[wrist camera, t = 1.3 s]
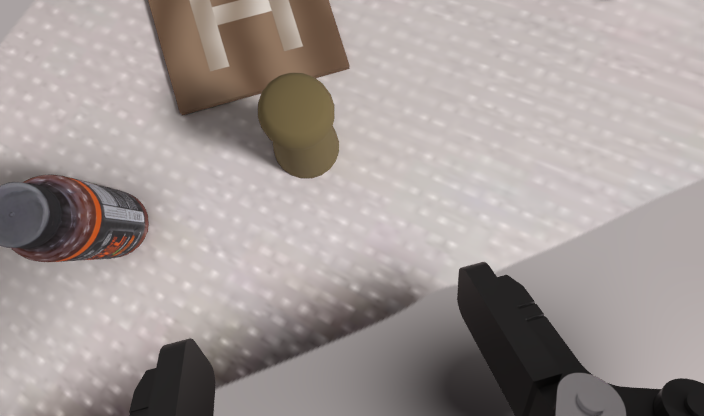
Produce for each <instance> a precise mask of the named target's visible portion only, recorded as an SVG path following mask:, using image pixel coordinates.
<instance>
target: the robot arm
mask: <svg viewBox="0 0 704 416" xmlns="http://www.w3.org/2000/svg"><path fill="white" fill-rule="evenodd" d="M457 300H458V306H459V309H460V312H461V315H462V317H463V319H464V321H465V323H466V325H467V327H468V329H469V330H470V332H471V334H472V336H473V338H474V340H475V342H476V344H477V346H478V347H479V349H480V351H481V353H482V355H483V357H484V359H485V360H486V362H487V364H488V366H489V368H490V370H491V372H492V373H493V376H494V377H495V379H496V381H497V383H498V385H499V387H500V389H501V391H502V393H503V394H504V396H505V398H506V400H507V402H508V404H509V406H510V407H511V409H512V411H513V413H514V415H515V416H704V384H703V383H701V382H698V381H695V380H690V379H674V380H671V381H669V382H668V383H666V385H665V386H664V387H663V388H662V389H647V388H630V387H619V386H615V385H612V384H609V383H606V382H605V381H603V380H602V379H600V378H598V377H596V376H593V375H592V374H591V373H589V372H588V371H587V370H586V369H585V368H584V367H583V366H582V365H581V363H580V362H579V361H578V359H577V358H576V357H575V355H574V354H573V353H572V351H571V350H570V349H569V347H568V346H567V345H566V344H565V342H564V341H563V339H562V338H561V337H560V335H559V334H558V332H557V331H556V330H555V328H554V327H553V326H552V324H551V323H550V322H549V320H548V319H547V318H546V317H545V316H544V314H543V312H542V311H541V309H540V308H539V307H538V305H537V304H535V303H534V300H533V299H532V297H531V296H530V295H529V293H528V292H527V291H526V289H525V288H524V287H523V286H522V285H521V284H520V283H518V282H516V281H515V280H514V279H512V278H511V277H509V276H508V275H504V276H500V277H496V275H495V274H494V272H493V271H492V269H491V268H490V266H489V265H488V264H487V263H486V262H481V263H477V264H473V265H470V266H466V267H462V268H460V269H459V279H458V297H457ZM214 397H215V375H214V371H213V368H212V365H211V364H210V362H209V361H208V359H207V358H206V357H205V355H204V354H203V352H202V351H201V349H200V348H199V347H198V345H197V344H196V342H195V341H194V340H193V339H191V338H190V339H186V340H182V341H179V342H175V343H171V344H167V345H164V346H163V347H162V348H161V350H160V353H159V358H158V363H157V368H154V369H151V370H147V371H146V372H145V374H144V375H143V377H142V379H141V380H140V382H139V384H138V386H137V387H136V389H135V391H134V394H133V399H132V403H131V407H130V411H129V412H130V416H213V411H214Z"/></svg>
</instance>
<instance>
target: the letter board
mask: <svg viewBox="0 0 704 416" xmlns="http://www.w3.org/2000/svg"><path fill="white" fill-rule="evenodd" d="M148 2H149V5H150V9H151V12H152V16H153V19H154V23H155V26H156V30H157V34H158V37H159V41H160V44H161V48H162V51H163V55H164V58H165V62H166V65H167V69H168V73H169V76H170V80H171V83H172V87H173V90H174V94H175V97H176V101H177V104H178V108H179V111H180V114H182V115H185V114H189V113H193V112H196V111H200V110H203V109H207V108H210V107H214V106H218V105H221V104H225V103H228V102H232V101H236V100H239V99H243V98H246V97H250V96H253V95H257V94H261V93H262V91H263V90H264V89H265V87H266V86H267V85H268V83H269V82H271V81H272V80H274V79H275V78H277V77H278V76H280V75H284V74H287V73H304V74H307V75H310V76H313V77H314V78H318V77H322V76H325V75H329V74H332V73H336V72H339V71H343V70H347V69H349V63H348V60H347V56H346V53H345V50H344V47H343V44H342V41H341V38H340V35H339V31H338V28H337V25H336V22H335V19H334V16H333V13H332V10H331V6H330V3H329V0H148Z"/></svg>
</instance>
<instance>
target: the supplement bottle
mask: <svg viewBox="0 0 704 416" xmlns="http://www.w3.org/2000/svg"><path fill="white" fill-rule="evenodd" d="M148 225H149V223H148V215H147V212H146V209H145V207H144V206H143V204H142V203H141V202H140V201H139V200H138V199H137V198H136V197H134V196H132V195H130V194H128V193H125V192H123V191H119V190H115V189H111V188H108V187H104V186H100V185H96V184H92V183H89V182H85V181H81V180H77V179H73V178H68V177H64V176H58V175H42V176H37V177H33V178H31V179H28V180H26V181H24V182H11V183H6V184H3V185H1V186H0V246H2V247H7V248H11V249H12V250H14V251H15V252H16V253H17V254H19V255H21V256H23V257H25V258H27V259H30V260H33V261H39V262H61V261H76V260H94V259H111V258H116V257H121V256H124V255H127V254H129V253H131V252H133V251H134V250H135V249H136V248H137V247H139V245H140V244H141V243H142V242H143V240H144V238H145V236H146V234H147V232H148Z"/></svg>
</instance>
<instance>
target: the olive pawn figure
mask: <svg viewBox="0 0 704 416" xmlns="http://www.w3.org/2000/svg"><path fill="white" fill-rule="evenodd" d="M258 119H259V122H260V125H261V128H262V129H263V131H264V132H265V133H266V135H267V136H268V138H269V139H270V140H271V141H273V148H274V153H275V156H276V159H277V162H278V163H279V164H280V166H281V167H282V168H283V169H284V170H285V171H286V172H288V173H289V174H290V175H293V176H296V177H299V178H314V177H317V176H320V175H322V174H324V173H325V172H326V171H328V170H329V169H330V168H331V167H332V165H333V164H334V163H335V161H336V159H337V156H338V153H339V141H338V138H337V135H336V132H335V130H334V128H333V122H334V103H333V100H332V97H331V94H330V93H329V92H328V90H327V89H326V88H325V86H324V85H323V84H322V83H321V82H320V81H318V80H317V79H316V78H314V77H313V76H310V75H307V74H304V73H287V74H284V75H280V76H278V77H277V78H275V79H274V80H272V81H271V82H269V83H268V85H267V86H266V87H265V89H264V90H263V91H262V93H261V96H260V99H259V102H258Z"/></svg>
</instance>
